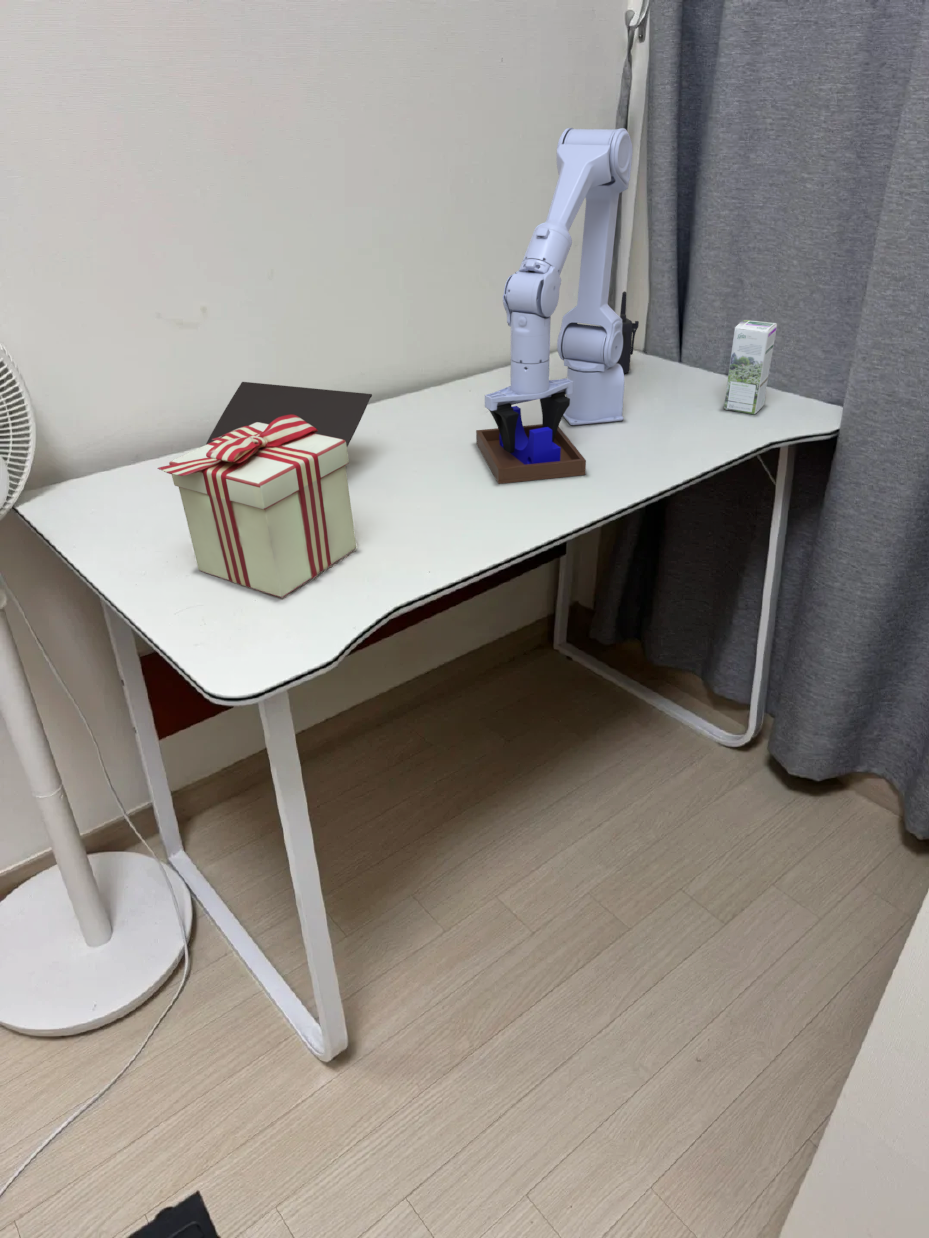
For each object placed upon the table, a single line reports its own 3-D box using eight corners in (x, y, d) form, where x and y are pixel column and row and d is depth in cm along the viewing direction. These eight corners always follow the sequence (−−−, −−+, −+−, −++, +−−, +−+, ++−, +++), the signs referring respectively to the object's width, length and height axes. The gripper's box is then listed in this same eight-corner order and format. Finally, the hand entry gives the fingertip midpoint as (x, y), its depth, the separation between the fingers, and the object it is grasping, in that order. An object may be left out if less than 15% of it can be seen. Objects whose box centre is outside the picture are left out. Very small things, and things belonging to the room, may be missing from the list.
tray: (555, 436, 143) (555, 422, 141) (585, 475, 129) (586, 460, 128) (476, 444, 141) (476, 430, 139) (498, 484, 127) (498, 469, 126)
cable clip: (559, 466, 131) (561, 428, 127) (533, 471, 129) (534, 433, 126) (524, 440, 140) (525, 404, 137) (499, 445, 138) (499, 408, 135)
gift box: (252, 519, 119) (231, 398, 110) (364, 546, 112) (351, 418, 102) (164, 575, 107) (131, 443, 97) (283, 609, 99) (260, 470, 90)
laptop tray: (198, 521, 132) (170, 483, 125) (258, 413, 143) (236, 371, 135) (331, 542, 125) (310, 502, 118) (384, 426, 136) (368, 383, 128)
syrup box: (764, 405, 152) (778, 321, 145) (754, 415, 148) (768, 330, 140) (732, 400, 155) (744, 318, 147) (722, 410, 151) (734, 326, 143)
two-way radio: (611, 367, 174) (616, 289, 166) (633, 367, 173) (640, 289, 165) (612, 375, 169) (618, 296, 161) (635, 375, 169) (642, 296, 161)
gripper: (556, 344, 132) (553, 429, 139) (473, 360, 126) (475, 447, 134) (582, 355, 127) (578, 442, 134) (498, 372, 121) (498, 462, 129)
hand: (528, 446), depth 134 cm, fingers open, 7 cm apart
